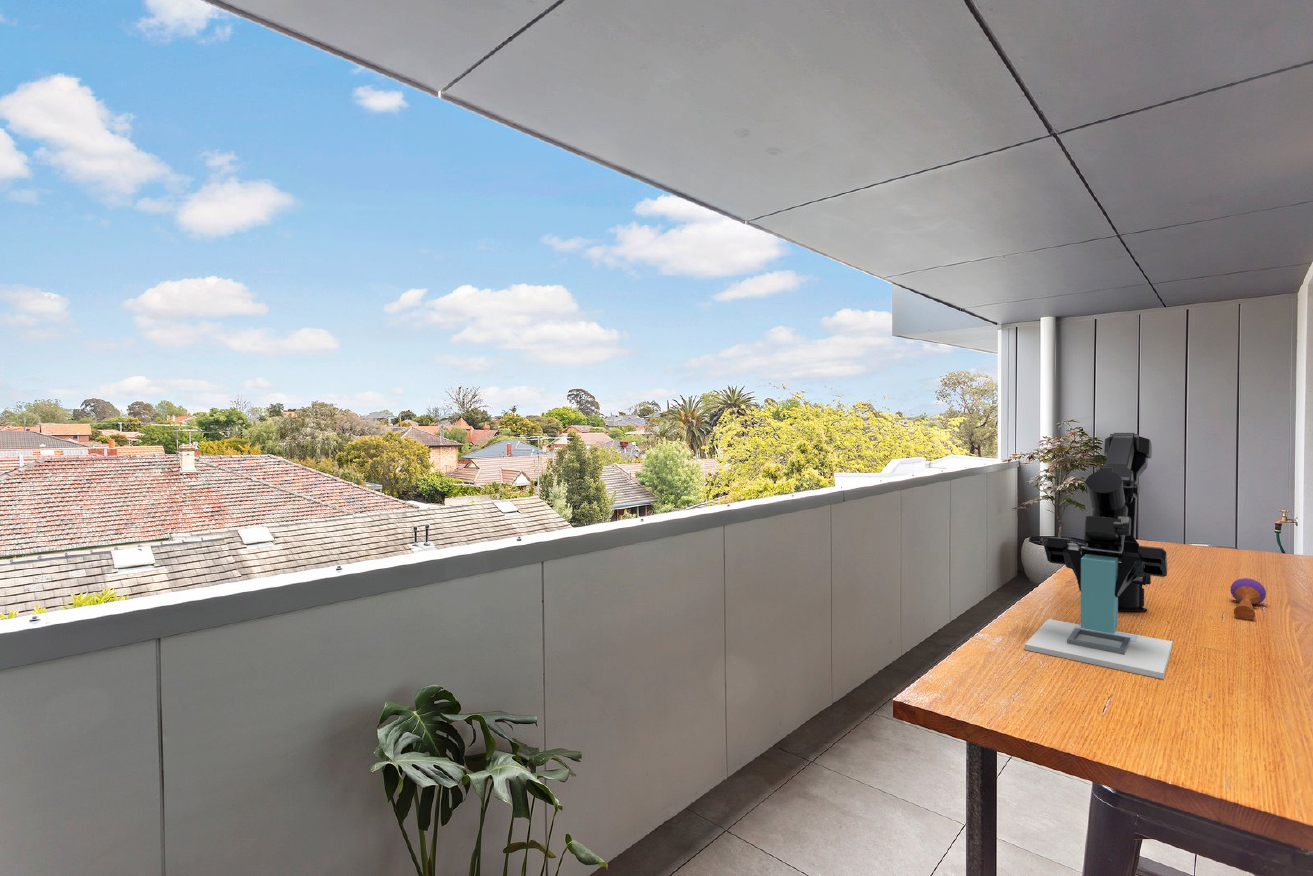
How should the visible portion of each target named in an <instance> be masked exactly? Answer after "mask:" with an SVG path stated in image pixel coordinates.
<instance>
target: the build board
mask: <svg viewBox="0 0 1313 876" xmlns="http://www.w3.org/2000/svg"><path fill="white" fill-rule="evenodd" d="M1024 650H1025V651H1030V652H1034V653H1040V654H1043V655H1048V656H1053V657H1057V658H1063V659H1068V660H1071V661H1076V662H1080V663H1086V664H1091V665H1095V666H1099V667H1103V668H1109V669H1113V670H1118V671H1123V672H1128V673H1133V674H1137V675H1142V676H1147V677H1151V678H1156V679H1161V680H1164V679H1165V675H1166V671H1167V667H1168V664H1169V660H1170V656H1171V654H1172V653H1171V652H1172V650H1173V640H1166V639H1162V638H1155V637H1151V636H1145V635H1139V634H1134V633H1129V632H1122V631H1118V630H1116V631H1115V633H1114V634H1111V633H1106V632H1100V631H1095V630H1089V629H1084V628H1081V624H1079V623H1073V622H1066V621H1062V620H1057V619H1050V618H1047V620H1046V621H1044V623H1043V624H1042V625H1041V626H1040V627H1039V628H1038V629H1037V630H1036V631H1035V632H1034V633H1033V635H1031V637H1030V638H1029V639H1028V640H1027V641H1026V642H1025V643H1024Z"/></svg>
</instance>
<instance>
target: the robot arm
mask: <svg viewBox="0 0 1313 876" xmlns="http://www.w3.org/2000/svg"><path fill="white" fill-rule="evenodd" d="M1103 449H1104V450H1103V451H1104V452H1103V454H1104V456H1105V458H1106V460H1105V465H1104V466H1102V467H1101V466H1100V467H1099V468H1098V469H1096V471H1095V472H1093V473H1091V474H1089V476H1088V477H1087V478H1086V479H1085V491H1086V494H1087V496H1088V501H1089V505H1090V506H1091V508H1092V509H1091V514H1090V515H1086V516H1085V519H1084V521H1085V522H1084V532H1083V533H1084V537H1083V543H1085V544H1086V546H1082V545H1080V544H1078V543H1072V542H1071V540H1070V538H1068V537H1060V536H1059V537H1057V536H1048V537H1047V538H1046V539H1045V540H1044V544H1043V547H1044V552H1045V555H1046V558H1047V559H1046V560H1047V562H1049V563H1051V564H1058V565H1065V567H1066V568H1067V569H1071V570H1072V572H1073V574H1074V576H1075V578H1076V580H1077V581H1076V582H1077V586H1078V589H1079V592H1080V593H1081V558H1082V557H1083V556H1084V555H1085V554H1089V555H1098V556H1107V557H1116V558H1118V579H1117V582H1116V586H1115V597H1118V612H1148V608H1146V607H1144V606H1145V588H1144V587H1143V586H1146V585H1151V583H1152V580H1151V579H1152V577H1159V578H1160V577H1161V578H1164V577H1167V575H1168V556H1167V551H1166V550H1165V549H1164V548H1163V547H1155V546H1146V545H1140V544H1139V543H1138V541H1137V539H1136V535H1137V533H1136V531H1137V530H1136V529H1137V515H1138V514H1137V512H1138V510H1137V509H1138V495H1139V494H1140V493H1141V486H1140V485H1139V477H1140V476H1142V474H1143V473H1144V471H1145V470H1146V469H1147V468H1148V463H1149V459H1152V456H1153V450H1152V449H1153V445H1152V442H1151V439H1150V438H1146V437H1144V436H1140V435H1139V434H1138V433H1134V432H1114V433H1109V437H1106V438H1105V439H1104V447H1103Z"/></svg>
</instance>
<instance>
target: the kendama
mask: <svg viewBox="0 0 1313 876" xmlns="http://www.w3.org/2000/svg"><path fill="white" fill-rule="evenodd" d="M1230 594H1231V596H1232V598H1233V599H1235V600H1236V601H1237V602H1238V604H1237V605H1235V608H1234V609H1233V615H1234V616H1235V617H1236V618H1237V619H1238V620H1243V621H1250V622H1251V621H1252V620H1254V619H1255V617H1256V613H1255V610H1254V607H1253V605H1252V604H1256V605H1258V604H1261V603H1263V602H1264V600H1265V599H1266V596H1267V590H1266V588H1265V587H1264V585H1263V584H1262V583H1261V582H1259V581H1258V580H1256V579H1253V578H1247V577H1245V578H1239V579H1236V580H1234V581H1233V582H1232V584H1231V585H1230Z"/></svg>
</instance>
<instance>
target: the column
mask: <svg viewBox="0 0 1313 876" xmlns="http://www.w3.org/2000/svg"><path fill="white" fill-rule="evenodd" d="M1117 579H1118V558H1116V557H1107V556H1098V555H1089V554H1085V555H1084V556H1083V557H1082V558H1081V592H1080V625H1081V628H1084V629H1089V630H1095V631H1100V632H1106V633H1111V634H1114V633H1115V631H1117V629H1118V625H1119V620H1118V618H1119V617H1118V614H1119V613H1118V612H1119V611H1118V597H1115V586H1116V582H1117Z"/></svg>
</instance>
